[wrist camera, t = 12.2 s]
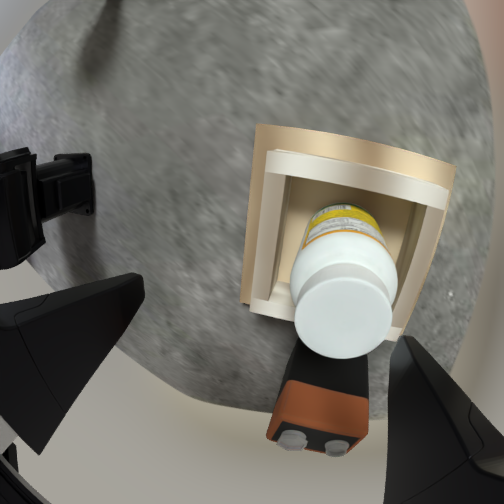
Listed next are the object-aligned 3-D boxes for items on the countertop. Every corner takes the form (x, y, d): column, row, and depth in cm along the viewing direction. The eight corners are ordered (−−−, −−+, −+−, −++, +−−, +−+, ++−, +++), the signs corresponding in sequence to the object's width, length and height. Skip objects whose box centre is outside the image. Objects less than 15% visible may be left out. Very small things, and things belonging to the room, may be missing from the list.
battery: (299, 332, 24) (274, 425, 15) (369, 351, 23) (370, 445, 14) (286, 363, 26) (260, 449, 17) (350, 380, 25) (342, 467, 16)
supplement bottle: (328, 185, 18) (321, 230, 9) (394, 226, 17) (436, 301, 9) (291, 251, 20) (255, 335, 12) (353, 286, 20) (356, 384, 11)
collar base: (243, 295, 24) (226, 322, 21) (260, 124, 18) (242, 120, 15) (399, 328, 21) (406, 359, 17) (451, 164, 15) (475, 172, 12)
